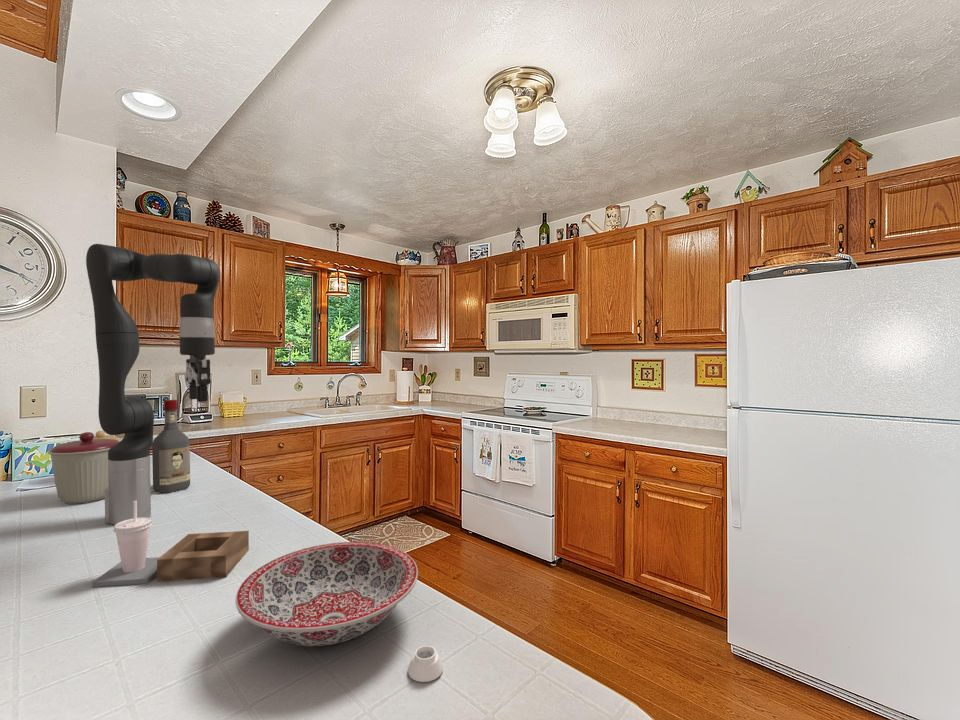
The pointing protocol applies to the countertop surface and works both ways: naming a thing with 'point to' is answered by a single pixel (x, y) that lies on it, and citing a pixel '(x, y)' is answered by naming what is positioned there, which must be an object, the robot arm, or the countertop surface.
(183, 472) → the liquor
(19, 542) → the countertop surface
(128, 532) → the smoothie
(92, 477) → the canister
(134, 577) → the slate coaster
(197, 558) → the frame
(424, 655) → the lidless jar
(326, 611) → the ceramic bowl
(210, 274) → the robot arm
